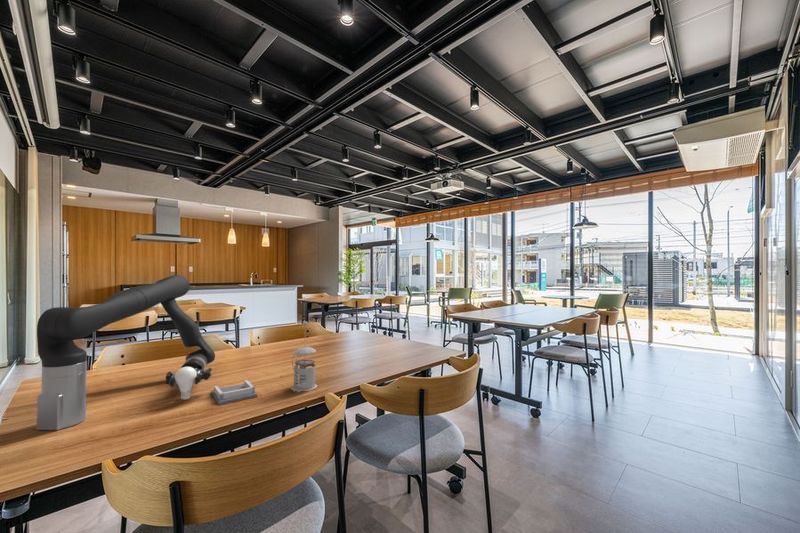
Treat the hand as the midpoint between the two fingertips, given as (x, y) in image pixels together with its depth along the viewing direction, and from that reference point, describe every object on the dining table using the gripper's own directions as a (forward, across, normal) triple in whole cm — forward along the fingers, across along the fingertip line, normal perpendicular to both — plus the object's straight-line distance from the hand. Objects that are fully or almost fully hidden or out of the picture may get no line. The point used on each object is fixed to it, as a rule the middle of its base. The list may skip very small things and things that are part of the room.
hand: (184, 382), depth 112 cm
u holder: (-3, +15, +7) cm, 17 cm away
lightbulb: (-2, 0, +7) cm, 7 cm away
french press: (-2, +38, +7) cm, 39 cm away
